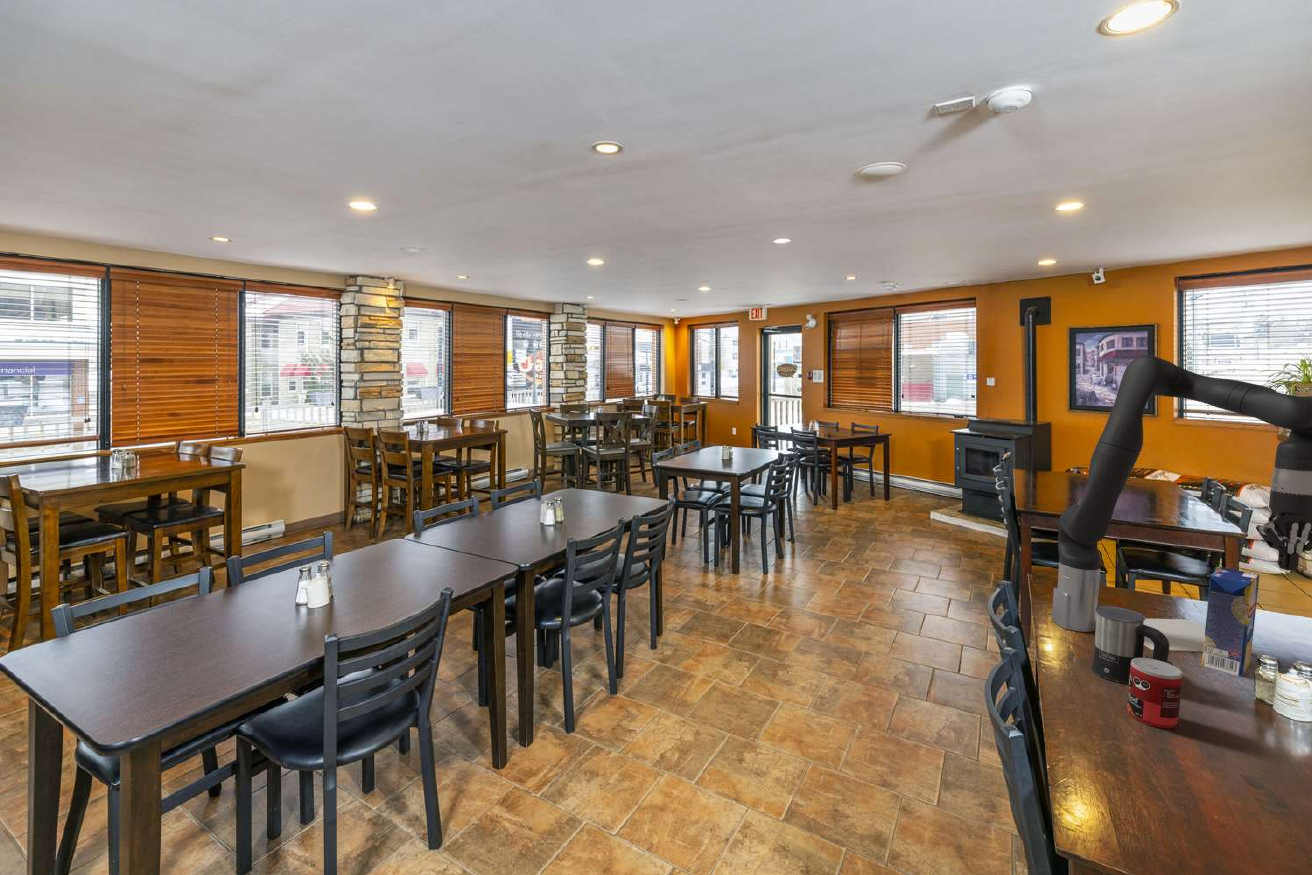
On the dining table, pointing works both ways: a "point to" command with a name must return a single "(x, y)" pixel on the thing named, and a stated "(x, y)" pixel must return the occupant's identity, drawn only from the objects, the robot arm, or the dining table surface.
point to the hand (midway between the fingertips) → (1287, 569)
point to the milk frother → (1123, 642)
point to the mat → (1178, 634)
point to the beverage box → (1230, 620)
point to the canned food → (1154, 692)
